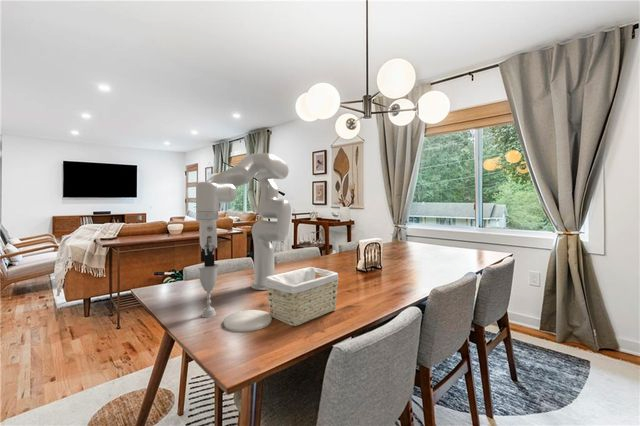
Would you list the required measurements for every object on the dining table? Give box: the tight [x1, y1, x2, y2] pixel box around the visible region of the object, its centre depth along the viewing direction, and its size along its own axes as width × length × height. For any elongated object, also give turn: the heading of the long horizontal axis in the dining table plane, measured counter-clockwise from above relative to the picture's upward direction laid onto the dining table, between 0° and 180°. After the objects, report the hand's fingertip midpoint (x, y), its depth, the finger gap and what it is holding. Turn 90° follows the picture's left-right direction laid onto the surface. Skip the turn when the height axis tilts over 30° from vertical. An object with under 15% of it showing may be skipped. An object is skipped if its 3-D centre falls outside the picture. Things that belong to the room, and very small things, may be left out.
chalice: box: [198, 263, 219, 318], centre depth 112 cm, size 7×7×18 cm
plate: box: [223, 309, 272, 333], centre depth 107 cm, size 16×16×1 cm
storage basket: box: [265, 266, 339, 327], centre depth 114 cm, size 24×16×15 cm
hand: (207, 263), depth 112 cm, fingers open, 9 cm apart
